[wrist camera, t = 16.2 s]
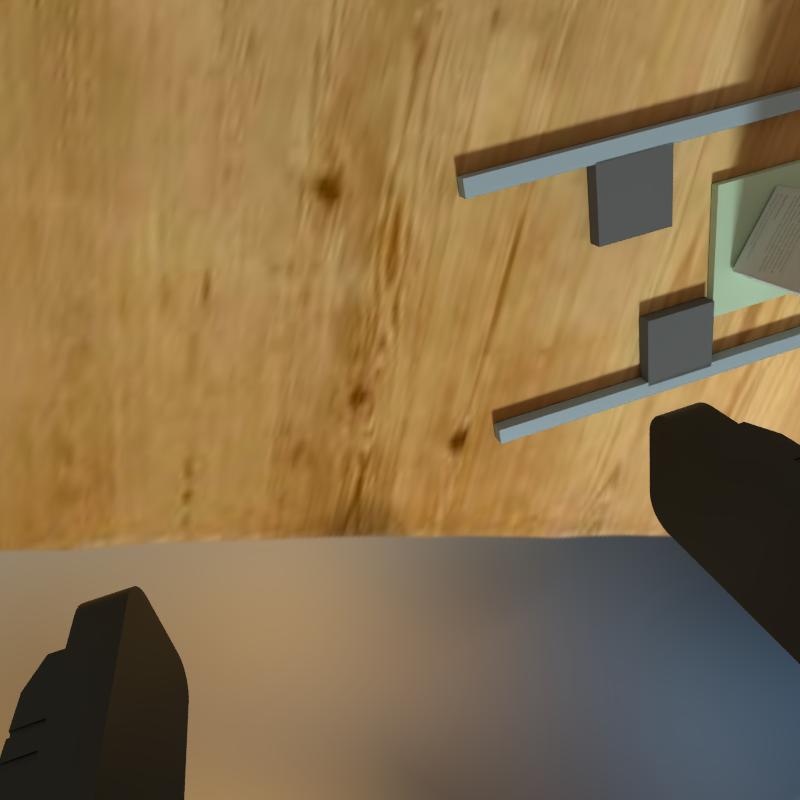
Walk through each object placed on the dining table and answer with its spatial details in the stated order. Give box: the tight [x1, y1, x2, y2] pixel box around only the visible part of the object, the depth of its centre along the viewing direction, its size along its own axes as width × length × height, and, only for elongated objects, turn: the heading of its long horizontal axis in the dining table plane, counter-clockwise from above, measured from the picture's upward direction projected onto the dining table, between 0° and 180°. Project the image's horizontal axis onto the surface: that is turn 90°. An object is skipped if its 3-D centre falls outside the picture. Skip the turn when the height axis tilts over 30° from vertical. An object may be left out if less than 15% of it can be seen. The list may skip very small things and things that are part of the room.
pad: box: [707, 159, 800, 317], centre depth 42 cm, size 9×9×1 cm
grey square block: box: [587, 142, 673, 247], centre depth 38 cm, size 5×5×1 cm
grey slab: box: [639, 297, 714, 386], centre depth 44 cm, size 5×5×1 cm
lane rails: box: [457, 87, 800, 444], centre depth 41 cm, size 27×18×1 cm
